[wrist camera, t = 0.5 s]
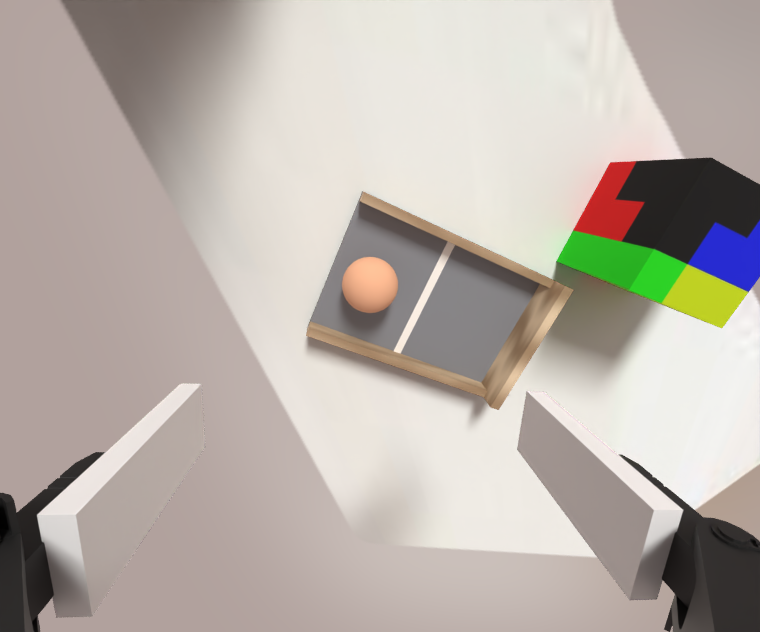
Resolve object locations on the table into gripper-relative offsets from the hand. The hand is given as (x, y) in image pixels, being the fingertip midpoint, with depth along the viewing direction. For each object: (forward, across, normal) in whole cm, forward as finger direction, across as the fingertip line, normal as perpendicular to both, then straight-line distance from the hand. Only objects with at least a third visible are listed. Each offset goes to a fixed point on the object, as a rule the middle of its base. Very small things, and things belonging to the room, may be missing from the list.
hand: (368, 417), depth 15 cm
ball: (+19, +1, +3) cm, 19 cm away
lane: (+23, +7, +1) cm, 24 cm away
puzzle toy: (+23, +26, +9) cm, 36 cm away
